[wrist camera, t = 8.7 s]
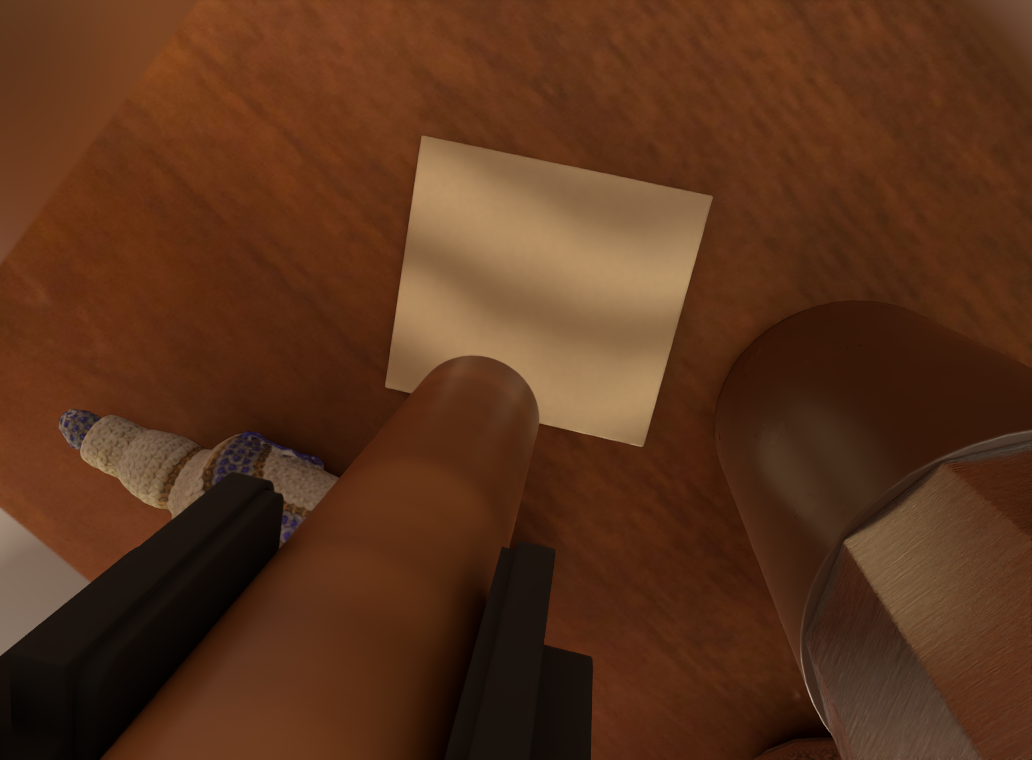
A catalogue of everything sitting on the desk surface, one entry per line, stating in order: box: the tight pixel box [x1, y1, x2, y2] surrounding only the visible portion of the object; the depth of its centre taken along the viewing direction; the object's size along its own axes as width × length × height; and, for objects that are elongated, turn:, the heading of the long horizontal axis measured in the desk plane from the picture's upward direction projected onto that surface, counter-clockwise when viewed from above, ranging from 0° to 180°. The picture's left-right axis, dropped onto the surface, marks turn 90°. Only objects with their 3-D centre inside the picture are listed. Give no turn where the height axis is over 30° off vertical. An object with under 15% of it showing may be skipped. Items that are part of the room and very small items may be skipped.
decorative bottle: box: [59, 409, 339, 549], centre depth 35 cm, size 26×8×7 cm, turn 64°
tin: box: [714, 301, 1032, 760], centre depth 21 cm, size 12×12×25 cm
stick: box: [100, 355, 539, 760], centre depth 11 cm, size 3×3×13 cm
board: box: [385, 135, 713, 447], centre depth 33 cm, size 12×13×1 cm
